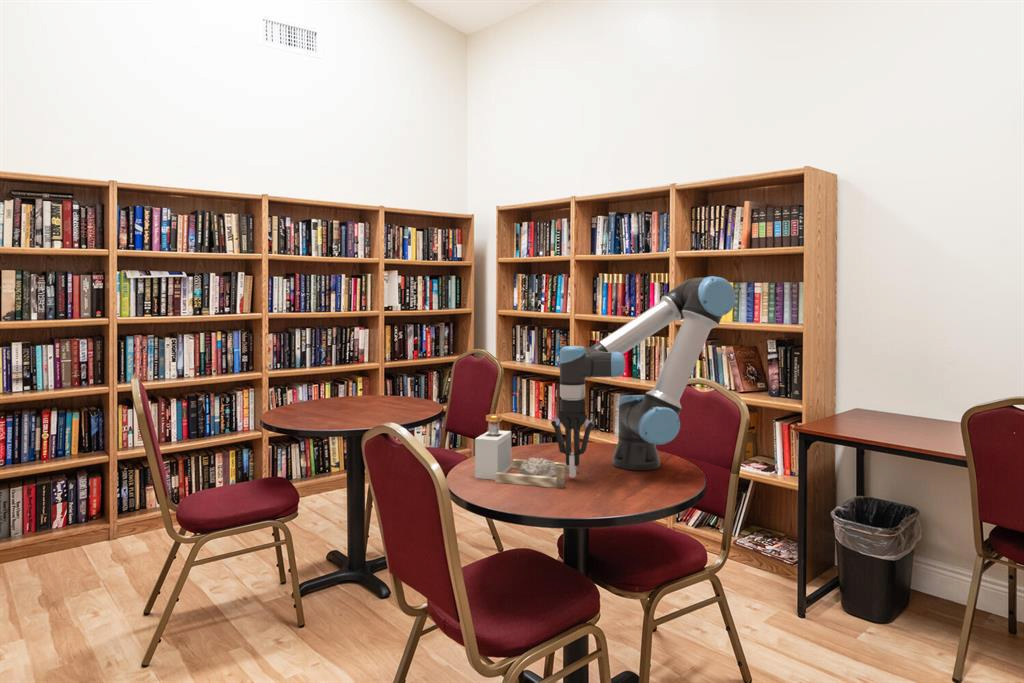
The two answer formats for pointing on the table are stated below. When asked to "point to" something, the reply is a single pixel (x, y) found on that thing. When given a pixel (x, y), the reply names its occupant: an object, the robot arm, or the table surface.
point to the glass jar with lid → (493, 424)
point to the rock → (538, 467)
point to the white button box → (492, 454)
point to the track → (534, 476)
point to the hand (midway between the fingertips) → (572, 476)
